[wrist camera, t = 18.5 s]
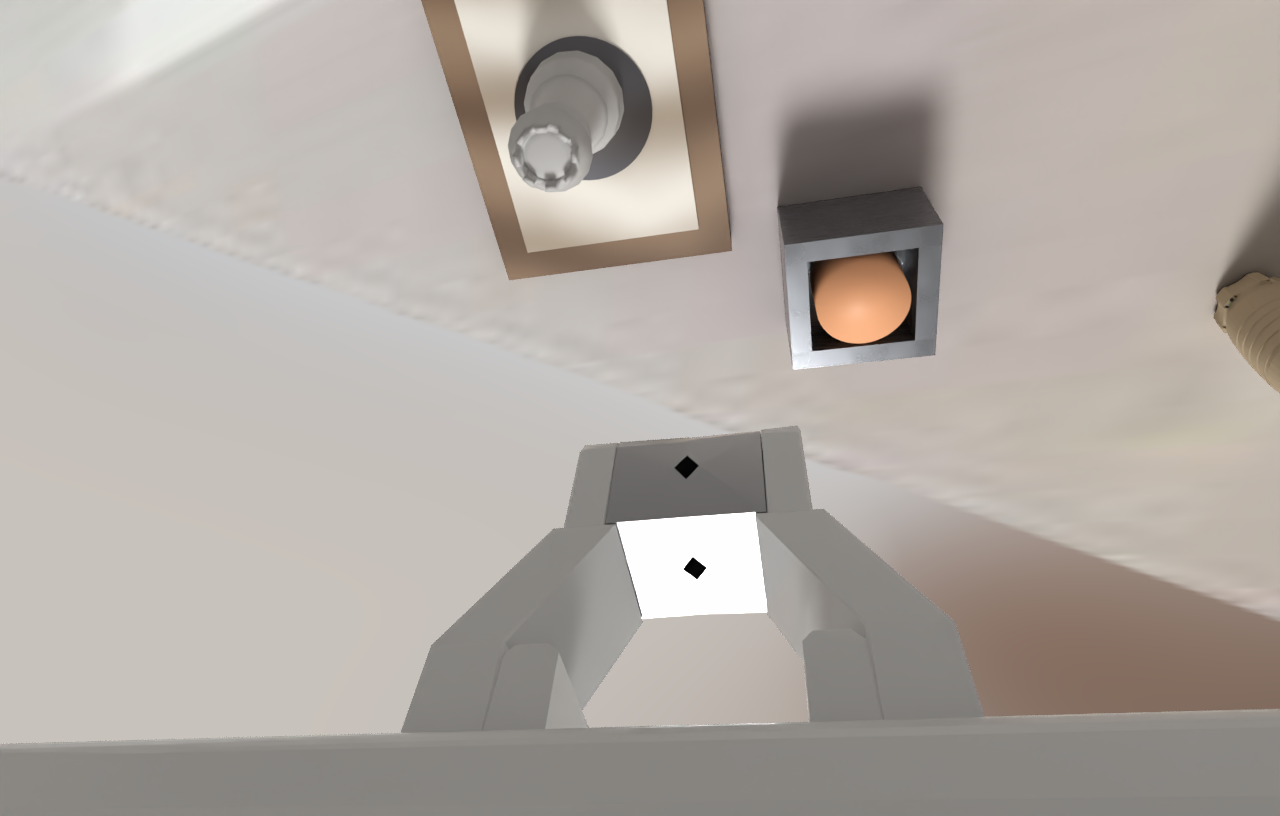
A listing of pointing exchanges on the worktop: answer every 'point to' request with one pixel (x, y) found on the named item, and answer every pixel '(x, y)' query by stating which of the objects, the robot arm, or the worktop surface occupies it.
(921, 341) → the button housing
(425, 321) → the worktop surface
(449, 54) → the board
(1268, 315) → the handle
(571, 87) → the rook chess piece
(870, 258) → the button
